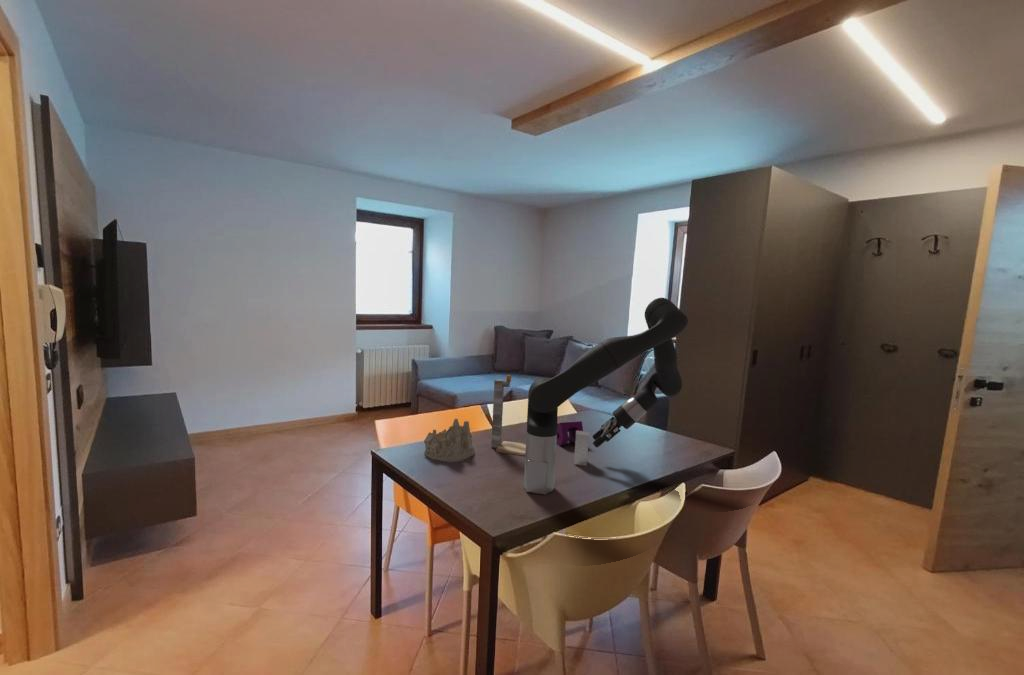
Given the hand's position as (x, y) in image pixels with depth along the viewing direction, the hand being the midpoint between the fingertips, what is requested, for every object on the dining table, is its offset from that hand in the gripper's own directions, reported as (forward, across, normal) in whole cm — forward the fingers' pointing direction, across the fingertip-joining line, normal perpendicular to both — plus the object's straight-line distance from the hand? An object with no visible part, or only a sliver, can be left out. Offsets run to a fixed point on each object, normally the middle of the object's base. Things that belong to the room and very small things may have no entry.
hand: (594, 441), depth 155 cm
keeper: (+28, +8, +17) cm, 33 cm away
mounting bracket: (+14, +25, +3) cm, 29 cm away
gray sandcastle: (+42, -5, +30) cm, 52 cm away
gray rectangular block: (+9, 0, -3) cm, 9 cm away
